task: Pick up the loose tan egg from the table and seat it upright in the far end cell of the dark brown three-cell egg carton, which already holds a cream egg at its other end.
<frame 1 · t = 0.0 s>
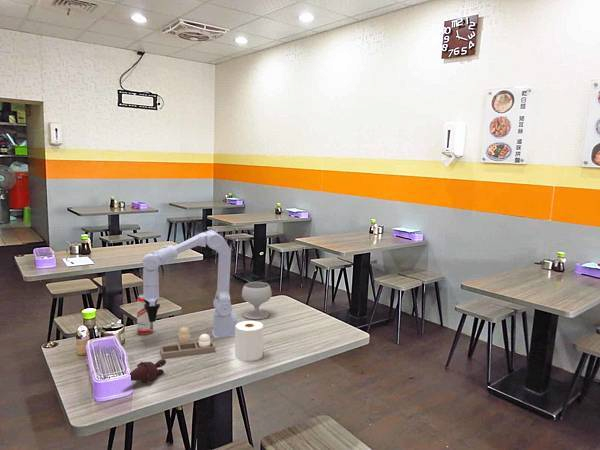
hand: (151, 318, 172), 10 cm above the table, tool pointing down, fingers open, 7 cm apart
tan egg: (184, 342, 175), on the table
egg carton: (188, 353, 165), on the table
chalice: (256, 316, 208), on the table
brown plush toy: (145, 382, 143), on the table
beer can: (145, 333, 184), on the table
toilet paper: (249, 356, 164), on the table
cream egg: (204, 349, 167), resting on egg carton
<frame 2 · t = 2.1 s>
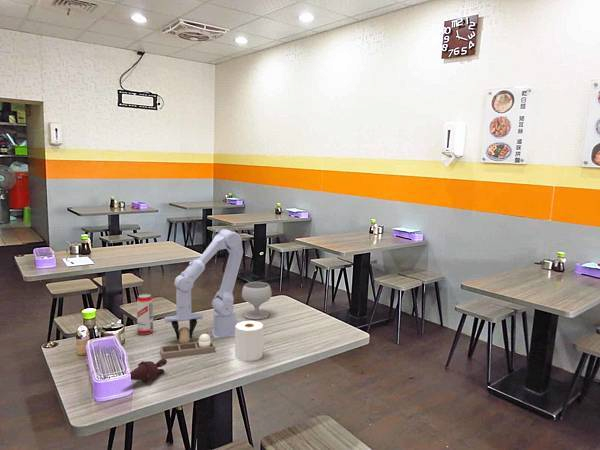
hand: (184, 338, 175), 2 cm above the table, tool pointing down, fingers closed on tan egg, 4 cm apart
tan egg: (184, 342, 175), on the table, touching gripper
everything else where it was.
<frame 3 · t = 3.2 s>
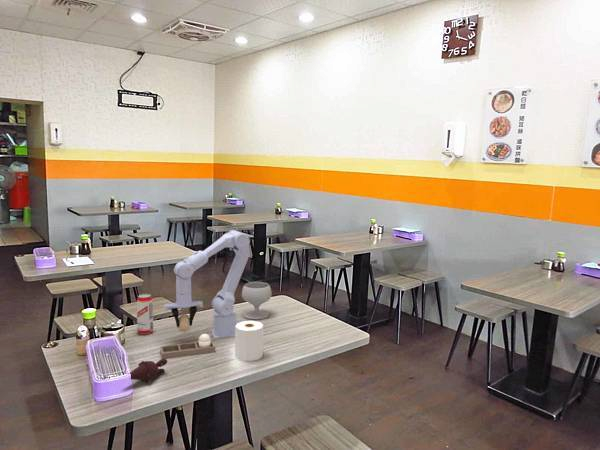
hand: (184, 325, 174), 7 cm above the table, tool pointing down, fingers closed on tan egg, 4 cm apart
tan egg: (184, 329, 174), point 5 cm above the table, touching gripper
everything else where it was.
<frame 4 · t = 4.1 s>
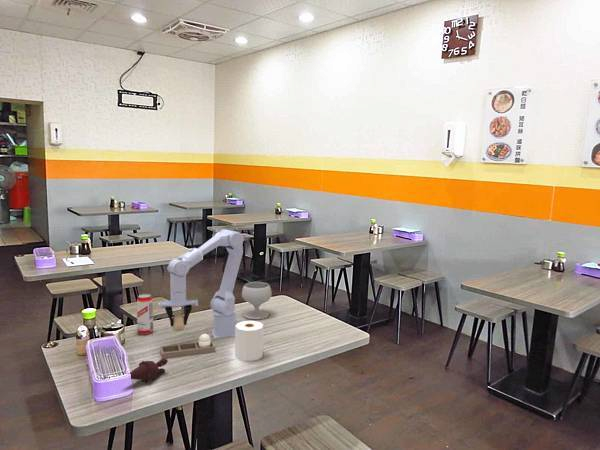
hand: (178, 324, 169), 9 cm above the table, tool pointing down, fingers closed on tan egg, 4 cm apart
tan egg: (178, 328, 169), point 7 cm above the table, touching gripper
everything else where it was.
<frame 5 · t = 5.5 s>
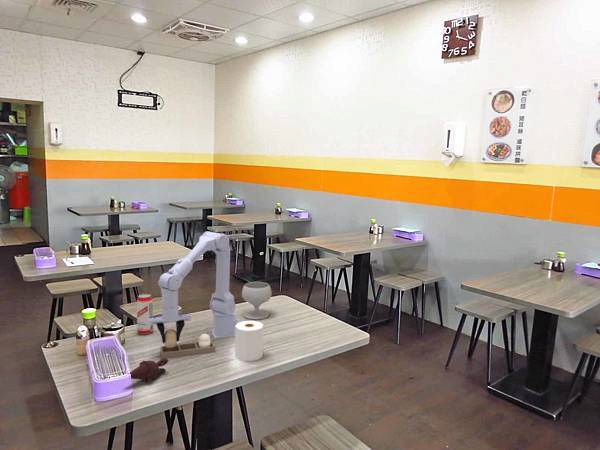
hand: (170, 341, 162), 5 cm above the table, tool pointing down, fingers closed on tan egg, 4 cm apart
tan egg: (170, 345, 162), point 4 cm above the table, touching gripper
everything else where it was.
when the fingers open (3 cm above the table, at t = 6.4 s): tan egg drops 1 cm, resting on egg carton.
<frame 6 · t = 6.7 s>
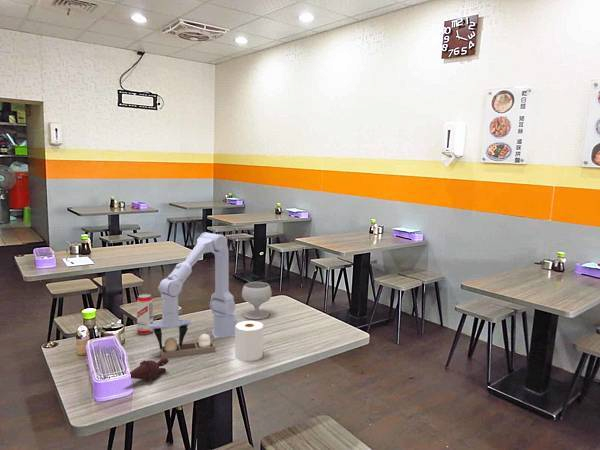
hand: (170, 346, 162), 3 cm above the table, tool pointing down, fingers open, 6 cm apart
tan egg: (170, 353, 163), resting on egg carton
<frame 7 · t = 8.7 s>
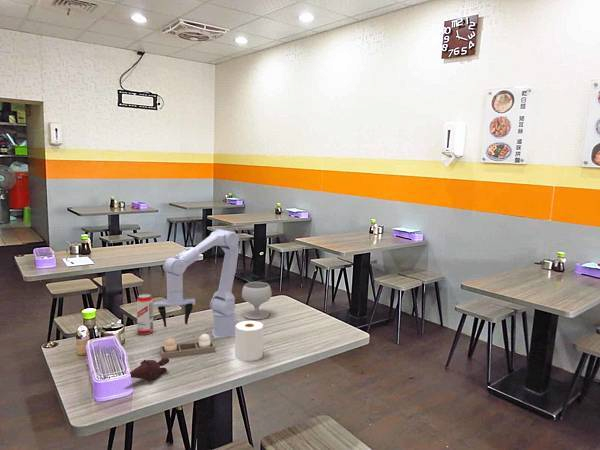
hand: (175, 324, 166), 10 cm above the table, tool pointing down, fingers open, 7 cm apart
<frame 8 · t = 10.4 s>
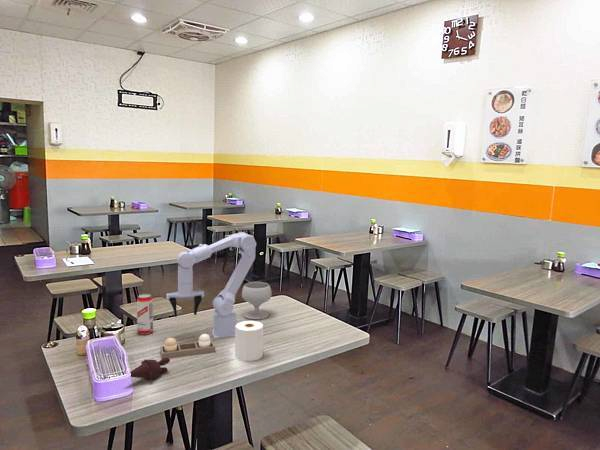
hand: (185, 315, 176), 10 cm above the table, tool pointing down, fingers open, 7 cm apart
at the end: tan egg 0.0 cm from the target spot on the egg carton, point 0.5 cm above the egg carton's base; tan egg tilted 1°; the gripper is holding nothing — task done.
